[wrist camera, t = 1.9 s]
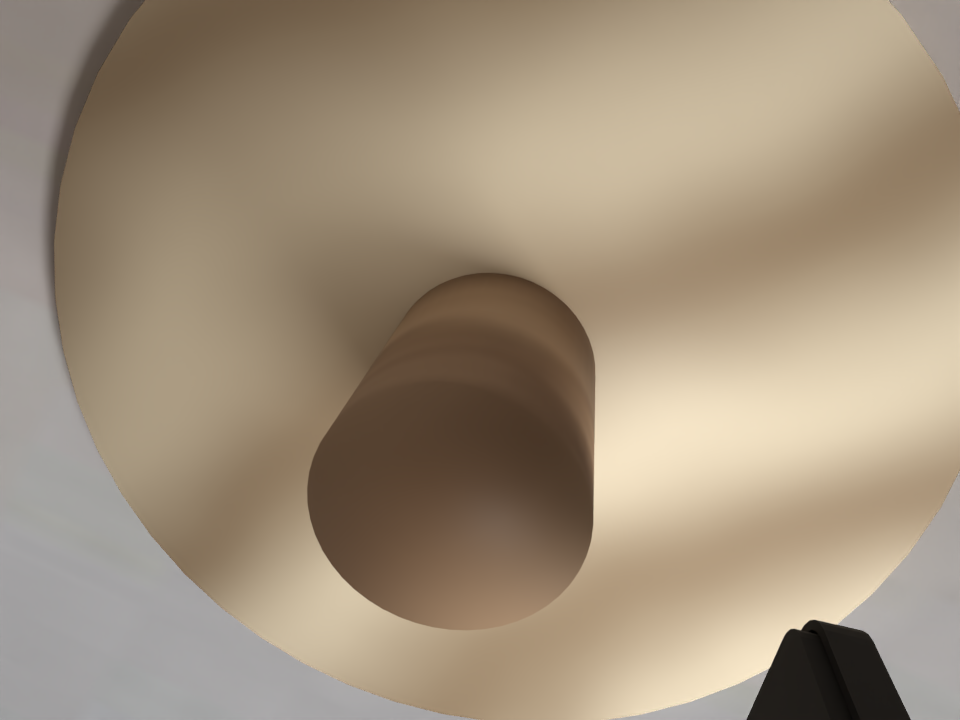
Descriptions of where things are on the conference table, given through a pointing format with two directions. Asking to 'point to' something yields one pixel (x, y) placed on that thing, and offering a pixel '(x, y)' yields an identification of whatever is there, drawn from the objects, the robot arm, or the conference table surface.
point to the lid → (520, 329)
